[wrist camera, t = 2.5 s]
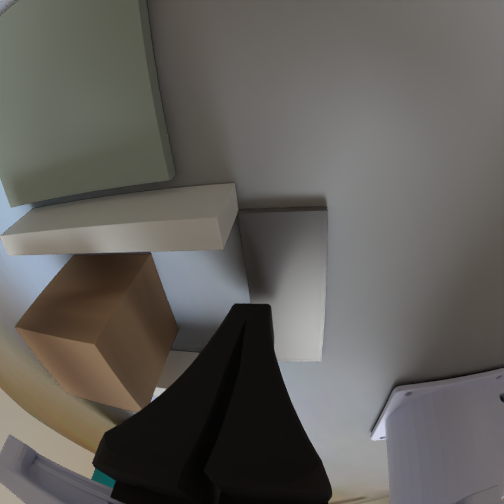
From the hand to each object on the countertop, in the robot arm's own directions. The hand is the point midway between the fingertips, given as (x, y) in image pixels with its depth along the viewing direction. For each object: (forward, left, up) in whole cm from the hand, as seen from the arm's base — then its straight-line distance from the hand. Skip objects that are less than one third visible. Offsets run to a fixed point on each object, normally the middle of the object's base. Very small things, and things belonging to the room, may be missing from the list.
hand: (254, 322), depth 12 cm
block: (+6, 0, -2) cm, 7 cm away
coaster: (+7, -10, -1) cm, 12 cm away
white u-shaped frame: (+4, 0, -1) cm, 4 cm away
